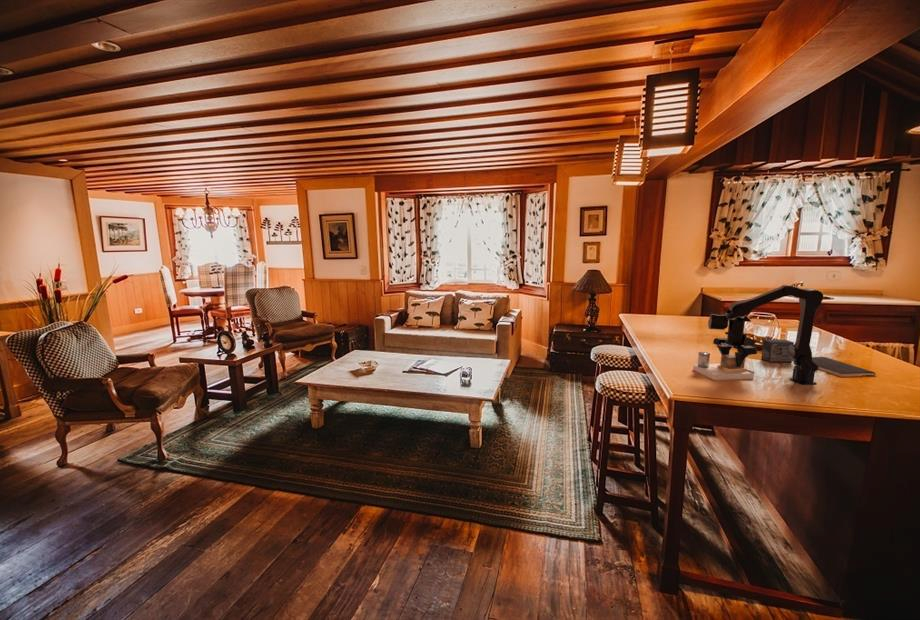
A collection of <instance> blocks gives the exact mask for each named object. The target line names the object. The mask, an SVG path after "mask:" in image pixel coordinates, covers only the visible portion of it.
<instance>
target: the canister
mask: <svg viewBox="0 0 920 620" xmlns="http://www.w3.org/2000/svg"><path fill="white" fill-rule="evenodd" d="M697 353H698V355H697V356H698V358H697V364H696V365H697V366H698V367H701V368H709V364H710V357H711V353H709V352H705V351H699V352H697Z"/></svg>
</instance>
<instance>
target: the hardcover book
mask: <svg viewBox="0 0 920 620" xmlns="http://www.w3.org/2000/svg"><path fill="white" fill-rule="evenodd" d="M812 361H813V362H814V363H815V364H816V365H817V366H818V367H819V368H818V369H817V370H820V371H822V372H826V373H827V374H830V375H831V374H832V375H835V376H838V377H843V378H844V377H863V376H862V375H875V376H876V372H875V371H872V370H870V369H869V370H868V369H865V368H862V367H859V366H856V365H852V364H850V363H846V362H843V361H839V360H836V359H833V358H829V357H827V356H812Z"/></svg>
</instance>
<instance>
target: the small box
mask: <svg viewBox="0 0 920 620" xmlns="http://www.w3.org/2000/svg"><path fill="white" fill-rule="evenodd" d="M794 344H795V342H794V341H790V340H787V339H763V341H762V351H761V360H763V361H765V362H766V363H779V364H780V363H782V364H784V363H785V364H786V363H787V364H788V363H789V364H790V363H793V361H792V360H791V359H790V358H789V355H788V354H787V353H788V351H789V345H790V346H793V345H794Z"/></svg>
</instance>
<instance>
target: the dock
mask: <svg viewBox="0 0 920 620" xmlns="http://www.w3.org/2000/svg"><path fill="white" fill-rule="evenodd" d="M720 364H721V363H709V368H701V367H698V366H697V365H698V364H693V366H692V370H693V371H695V372H697V373H699V374H701V375H703V376H705V377H707V378H709V379H712V380H713V381H727V380H747V379H749V380H750V379H751V380H752V379H754V377H755V376H754V375H755V371H753V370H751V369H748V368H747V371H739V372H726V371H724V370H722V369H719V368H717V367H718V365H720Z"/></svg>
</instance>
